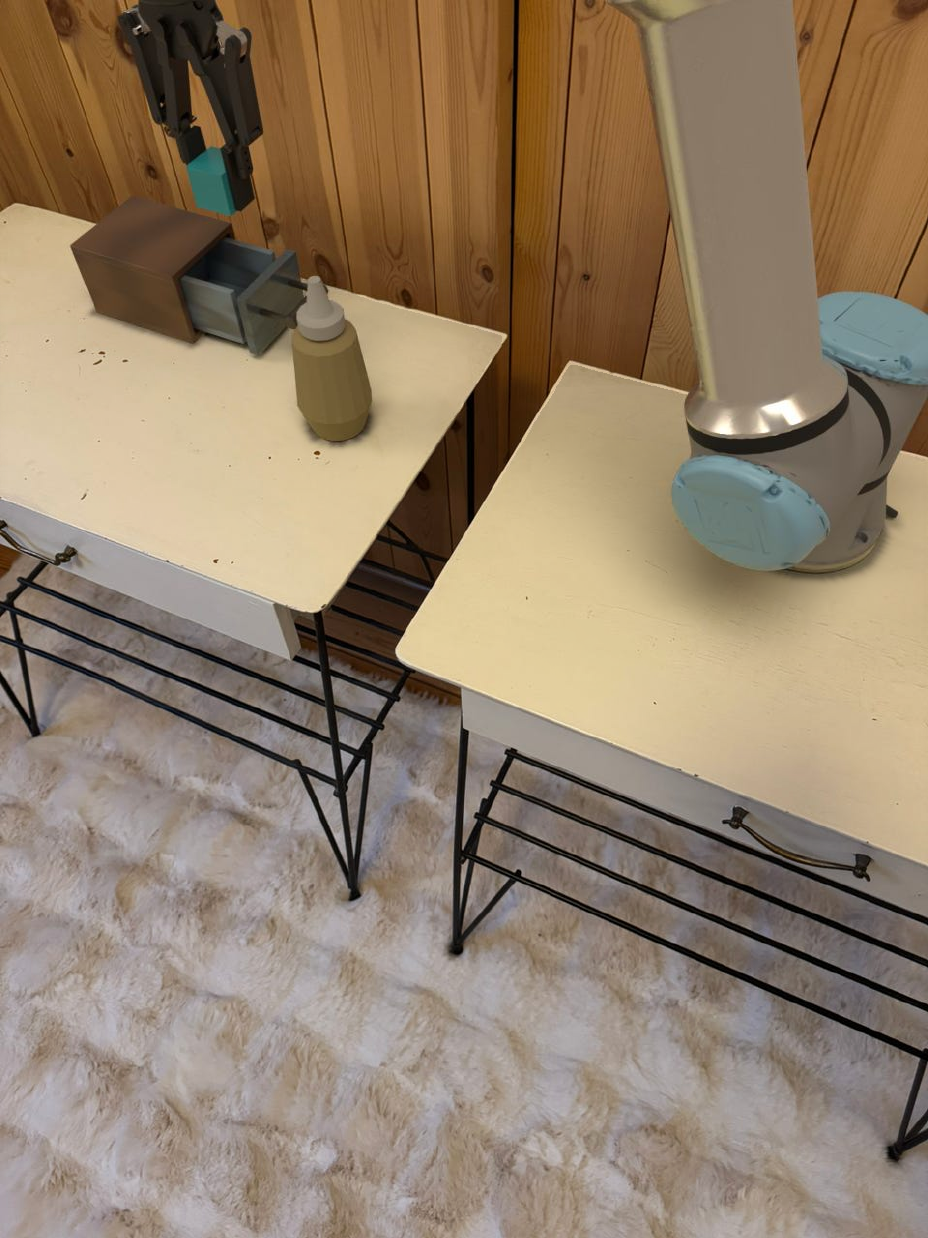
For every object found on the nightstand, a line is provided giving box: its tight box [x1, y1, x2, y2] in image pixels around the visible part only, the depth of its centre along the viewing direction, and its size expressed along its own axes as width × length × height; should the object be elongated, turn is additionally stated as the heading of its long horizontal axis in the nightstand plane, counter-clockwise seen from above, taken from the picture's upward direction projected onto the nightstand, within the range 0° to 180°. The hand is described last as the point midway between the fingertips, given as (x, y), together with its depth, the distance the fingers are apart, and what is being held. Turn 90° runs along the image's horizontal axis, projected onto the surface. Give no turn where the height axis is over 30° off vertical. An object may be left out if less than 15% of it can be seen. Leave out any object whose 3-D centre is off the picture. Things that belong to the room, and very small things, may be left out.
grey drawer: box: [178, 237, 329, 356], centre depth 107 cm, size 18×10×7 cm, turn 64°
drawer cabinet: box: [69, 195, 236, 345], centre depth 110 cm, size 15×12×9 cm
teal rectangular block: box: [185, 145, 238, 217], centre depth 96 cm, size 4×4×4 cm
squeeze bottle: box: [291, 275, 373, 442], centre depth 93 cm, size 8×8×18 cm
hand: (225, 198), depth 97 cm, fingers closed on teal rectangular block, 4 cm apart
